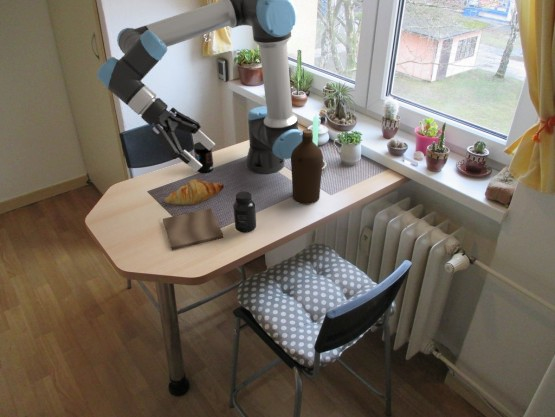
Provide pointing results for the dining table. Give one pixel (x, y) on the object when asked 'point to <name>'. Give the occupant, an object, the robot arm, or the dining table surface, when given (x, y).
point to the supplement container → (203, 158)
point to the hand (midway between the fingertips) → (206, 157)
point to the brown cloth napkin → (192, 229)
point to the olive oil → (306, 170)
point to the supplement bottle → (244, 212)
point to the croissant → (194, 192)
